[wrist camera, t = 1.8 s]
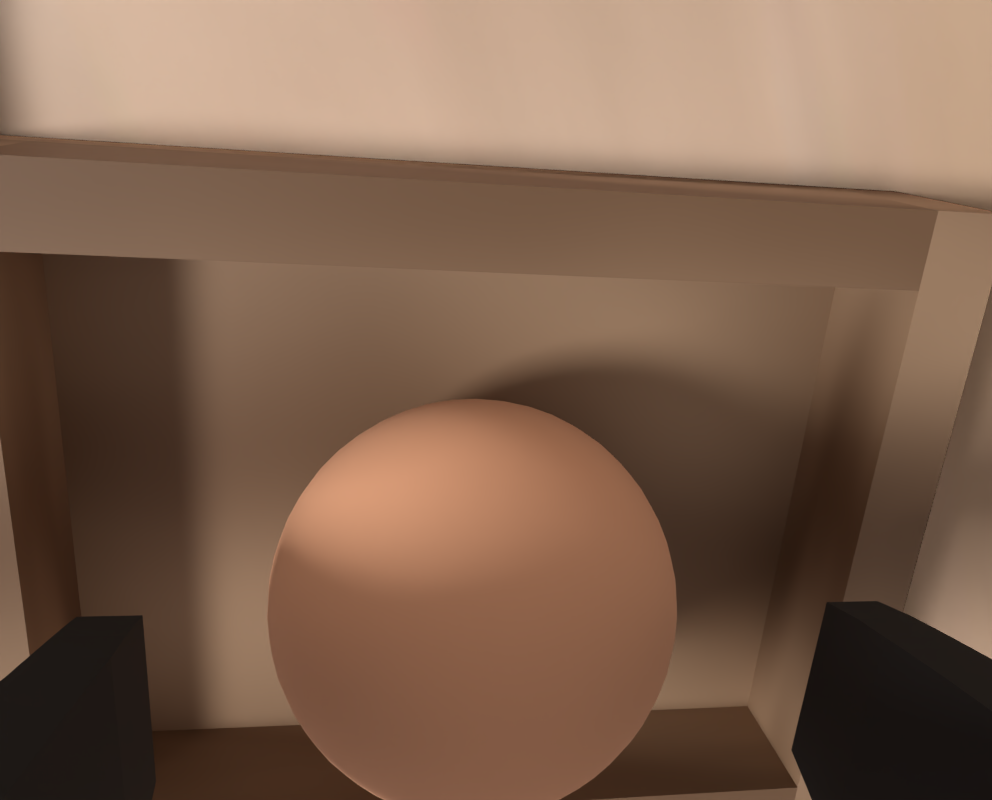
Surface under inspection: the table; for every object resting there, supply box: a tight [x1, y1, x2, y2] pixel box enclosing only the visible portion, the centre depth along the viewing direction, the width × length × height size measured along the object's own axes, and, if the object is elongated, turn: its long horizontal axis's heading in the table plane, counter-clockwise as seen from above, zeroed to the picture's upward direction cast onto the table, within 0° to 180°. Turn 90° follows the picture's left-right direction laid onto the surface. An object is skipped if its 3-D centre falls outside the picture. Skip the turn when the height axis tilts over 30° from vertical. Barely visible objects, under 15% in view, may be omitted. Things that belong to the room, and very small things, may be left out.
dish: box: [0, 135, 992, 800], centre depth 12 cm, size 10×13×2 cm
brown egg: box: [267, 399, 677, 800], centre depth 11 cm, size 5×5×5 cm
